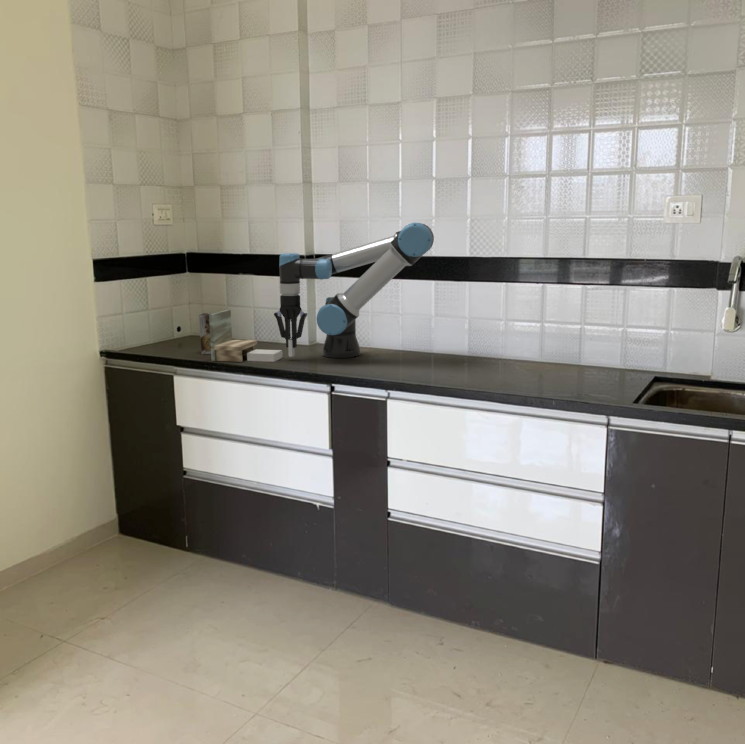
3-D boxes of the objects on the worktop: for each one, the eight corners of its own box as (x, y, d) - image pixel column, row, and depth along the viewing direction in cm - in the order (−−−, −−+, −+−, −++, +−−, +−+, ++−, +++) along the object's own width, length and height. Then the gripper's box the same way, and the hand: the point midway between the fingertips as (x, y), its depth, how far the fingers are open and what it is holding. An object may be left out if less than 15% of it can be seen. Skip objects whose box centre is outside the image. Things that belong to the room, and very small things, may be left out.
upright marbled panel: (257, 355, 296) (255, 310, 293) (241, 362, 281) (238, 315, 277) (229, 354, 299) (227, 309, 296) (211, 361, 284) (208, 314, 280)
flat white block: (282, 357, 290) (282, 350, 289) (274, 361, 281) (273, 354, 281) (256, 356, 293) (256, 349, 292) (247, 360, 284) (246, 353, 283)
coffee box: (227, 351, 306) (225, 312, 302) (222, 354, 299) (220, 314, 296) (205, 351, 306) (203, 312, 303) (200, 354, 300) (198, 314, 297)
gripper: (309, 294, 281) (310, 355, 286) (277, 293, 284) (279, 353, 289) (303, 295, 274) (304, 358, 279) (270, 295, 277) (272, 357, 282)
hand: (291, 355), depth 284 cm, fingers closed
